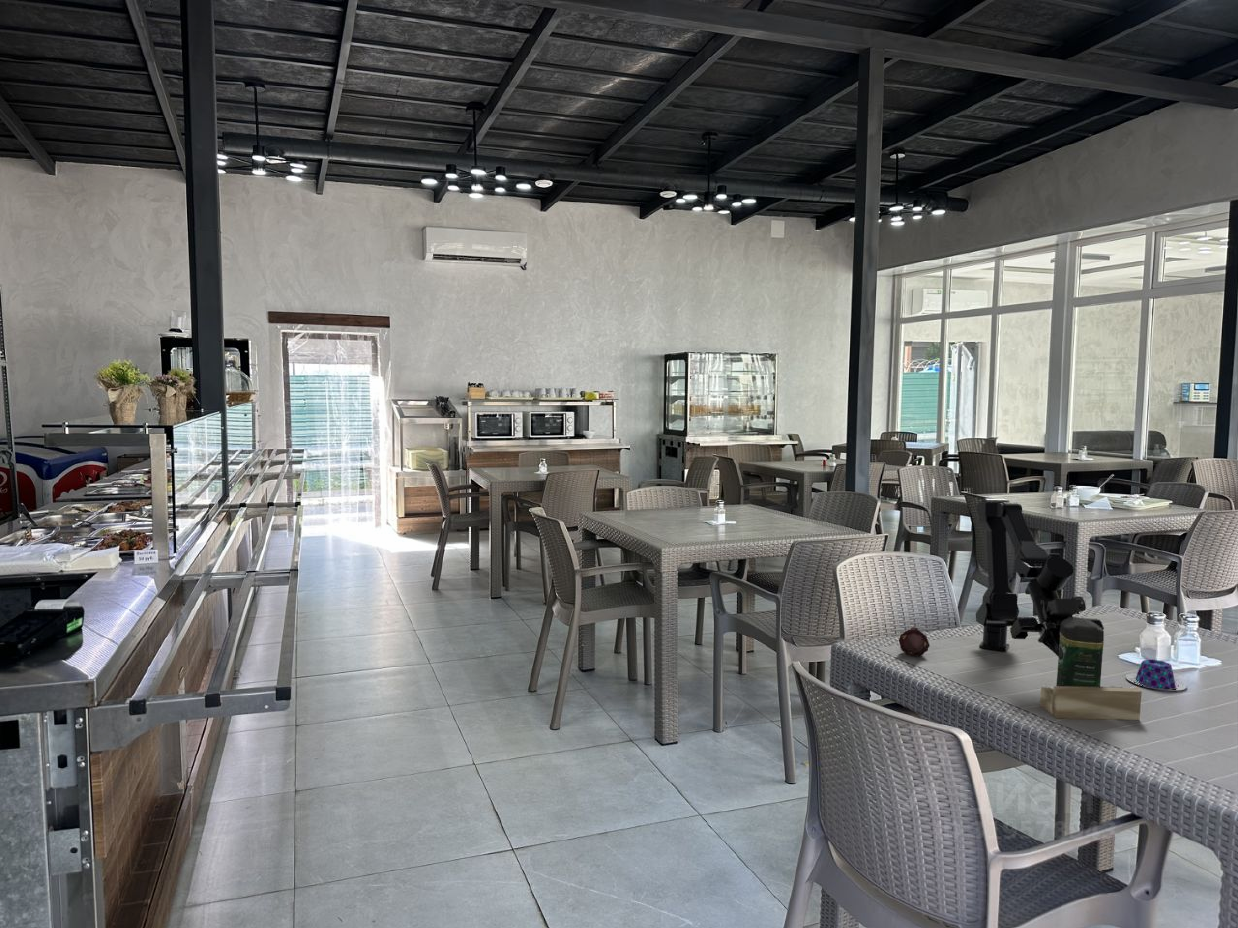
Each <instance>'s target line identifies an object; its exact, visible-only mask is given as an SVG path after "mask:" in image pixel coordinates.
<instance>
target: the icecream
mask: <svg viewBox="0 0 1238 928" xmlns="http://www.w3.org/2000/svg"><path fill="white" fill-rule="evenodd" d="M898 643H899V647H900V648H899V649H900V650H901V651H902V652H904V654H907V655H908V656H909V655H915V656H914V657H922V656H923V655H924V654H925V653H926V652H928V651H929V648H930V646H931V645H930V642H929V640H928V637H927V635H926V634H925V633H923V632H922V631H920V630H919V629H918V628H917V627H915V626H913V627H911V628H910V629H908V630H905V631H904V632H903V633H901V634H900V635H899V639H898Z"/></svg>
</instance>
